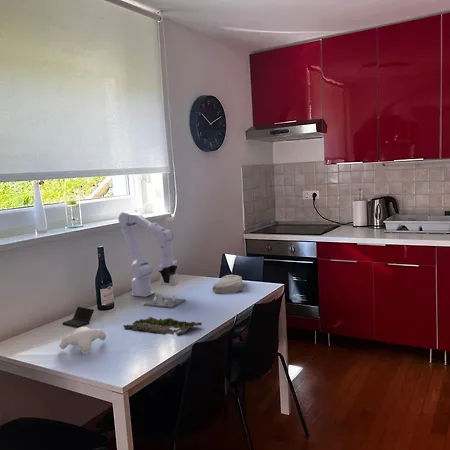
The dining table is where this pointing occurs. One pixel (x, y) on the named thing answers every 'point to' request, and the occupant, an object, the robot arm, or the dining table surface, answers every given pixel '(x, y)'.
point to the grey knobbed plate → (164, 302)
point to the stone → (228, 284)
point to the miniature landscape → (161, 325)
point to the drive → (170, 279)
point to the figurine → (83, 338)
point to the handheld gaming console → (80, 317)
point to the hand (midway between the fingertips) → (169, 281)
